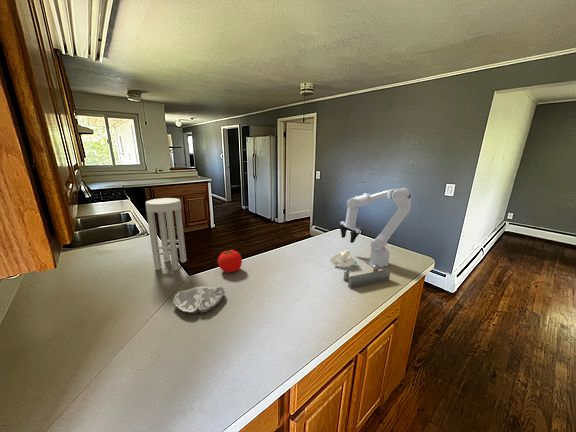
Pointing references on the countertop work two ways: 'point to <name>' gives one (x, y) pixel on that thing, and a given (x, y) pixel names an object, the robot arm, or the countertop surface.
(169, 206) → the stool
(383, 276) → the housing bracket
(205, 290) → the brain slice
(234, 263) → the tomato
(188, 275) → the countertop surface
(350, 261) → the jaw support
